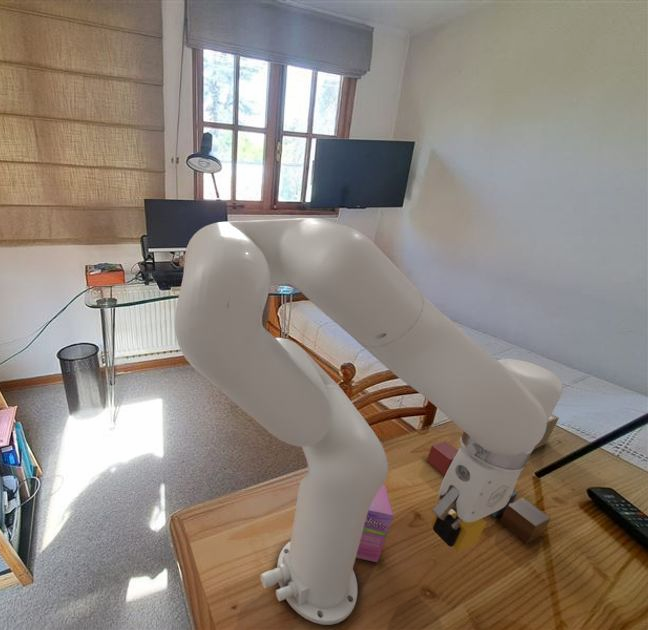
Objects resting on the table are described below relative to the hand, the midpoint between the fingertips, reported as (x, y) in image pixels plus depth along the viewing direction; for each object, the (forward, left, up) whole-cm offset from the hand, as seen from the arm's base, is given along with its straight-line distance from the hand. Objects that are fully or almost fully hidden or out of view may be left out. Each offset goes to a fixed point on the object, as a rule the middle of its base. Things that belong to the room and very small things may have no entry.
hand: (454, 531), depth 54 cm
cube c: (+21, +15, -8) cm, 27 cm away
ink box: (+48, +13, -9) cm, 50 cm away
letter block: (0, 0, 0) cm, 0 cm away
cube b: (+21, +5, -8) cm, 23 cm away
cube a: (+21, -1, -8) cm, 22 cm away
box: (-9, +10, -9) cm, 16 cm away
